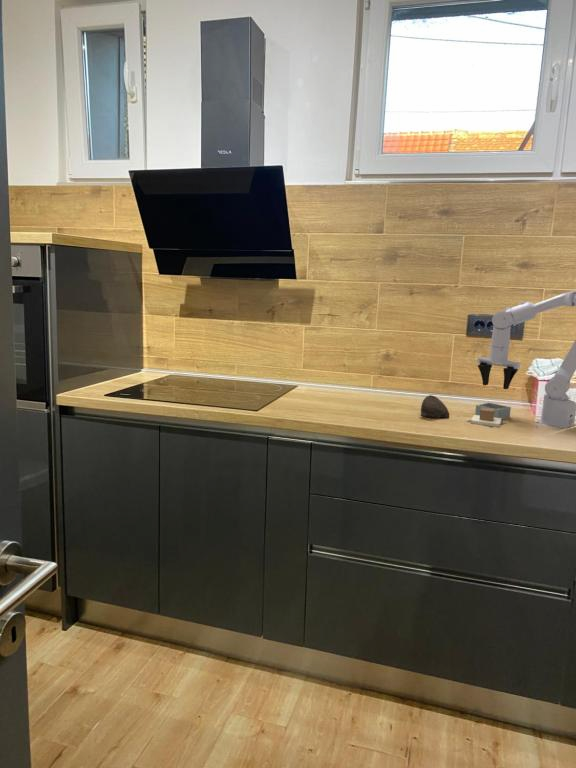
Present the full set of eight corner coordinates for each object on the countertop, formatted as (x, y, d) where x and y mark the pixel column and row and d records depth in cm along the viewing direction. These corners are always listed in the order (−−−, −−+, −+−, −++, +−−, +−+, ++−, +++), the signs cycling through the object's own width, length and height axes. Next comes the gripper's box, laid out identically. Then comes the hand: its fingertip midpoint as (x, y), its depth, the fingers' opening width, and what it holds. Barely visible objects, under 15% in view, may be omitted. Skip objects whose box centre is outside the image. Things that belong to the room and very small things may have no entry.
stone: (437, 424, 194) (417, 402, 195) (456, 410, 189) (435, 388, 191) (429, 435, 186) (409, 412, 187) (448, 420, 181) (427, 397, 182)
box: (509, 418, 190) (510, 407, 190) (496, 421, 185) (497, 409, 185) (487, 413, 196) (489, 402, 196) (474, 416, 191) (476, 405, 191)
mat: (506, 424, 182) (506, 423, 182) (491, 428, 176) (491, 427, 176) (481, 418, 188) (481, 417, 188) (465, 422, 183) (465, 421, 183)
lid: (501, 421, 184) (502, 408, 184) (499, 427, 177) (500, 413, 176) (473, 417, 188) (475, 405, 187) (470, 423, 180) (472, 410, 179)
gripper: (526, 349, 187) (521, 389, 190) (486, 344, 198) (482, 382, 201) (515, 350, 183) (510, 391, 185) (475, 344, 194) (471, 384, 196)
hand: (495, 386), depth 193 cm, fingers open, 7 cm apart
